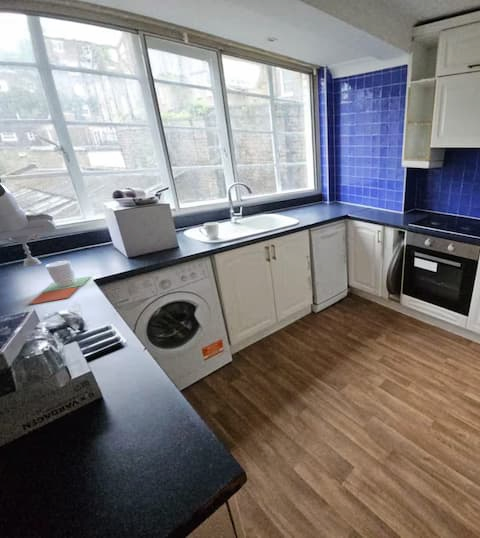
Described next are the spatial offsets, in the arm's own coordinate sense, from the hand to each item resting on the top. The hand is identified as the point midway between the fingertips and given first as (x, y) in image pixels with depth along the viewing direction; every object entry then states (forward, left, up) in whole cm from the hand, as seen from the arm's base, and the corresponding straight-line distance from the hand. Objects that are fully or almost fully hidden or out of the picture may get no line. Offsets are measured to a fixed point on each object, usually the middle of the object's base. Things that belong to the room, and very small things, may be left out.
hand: (24, 239), depth 111 cm
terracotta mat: (0, +2, -25) cm, 25 cm away
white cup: (0, +14, -25) cm, 29 cm away
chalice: (-1, -1, -10) cm, 10 cm away
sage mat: (0, +14, -25) cm, 29 cm away
